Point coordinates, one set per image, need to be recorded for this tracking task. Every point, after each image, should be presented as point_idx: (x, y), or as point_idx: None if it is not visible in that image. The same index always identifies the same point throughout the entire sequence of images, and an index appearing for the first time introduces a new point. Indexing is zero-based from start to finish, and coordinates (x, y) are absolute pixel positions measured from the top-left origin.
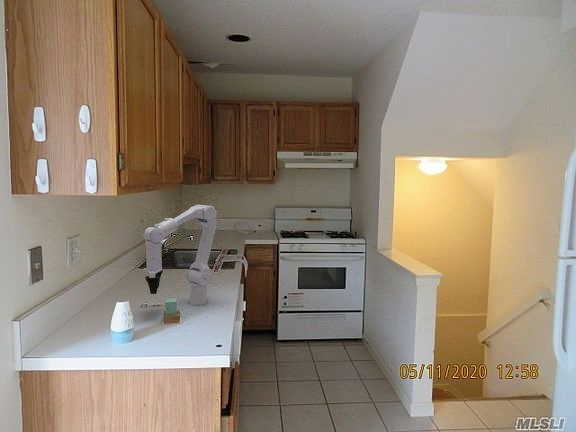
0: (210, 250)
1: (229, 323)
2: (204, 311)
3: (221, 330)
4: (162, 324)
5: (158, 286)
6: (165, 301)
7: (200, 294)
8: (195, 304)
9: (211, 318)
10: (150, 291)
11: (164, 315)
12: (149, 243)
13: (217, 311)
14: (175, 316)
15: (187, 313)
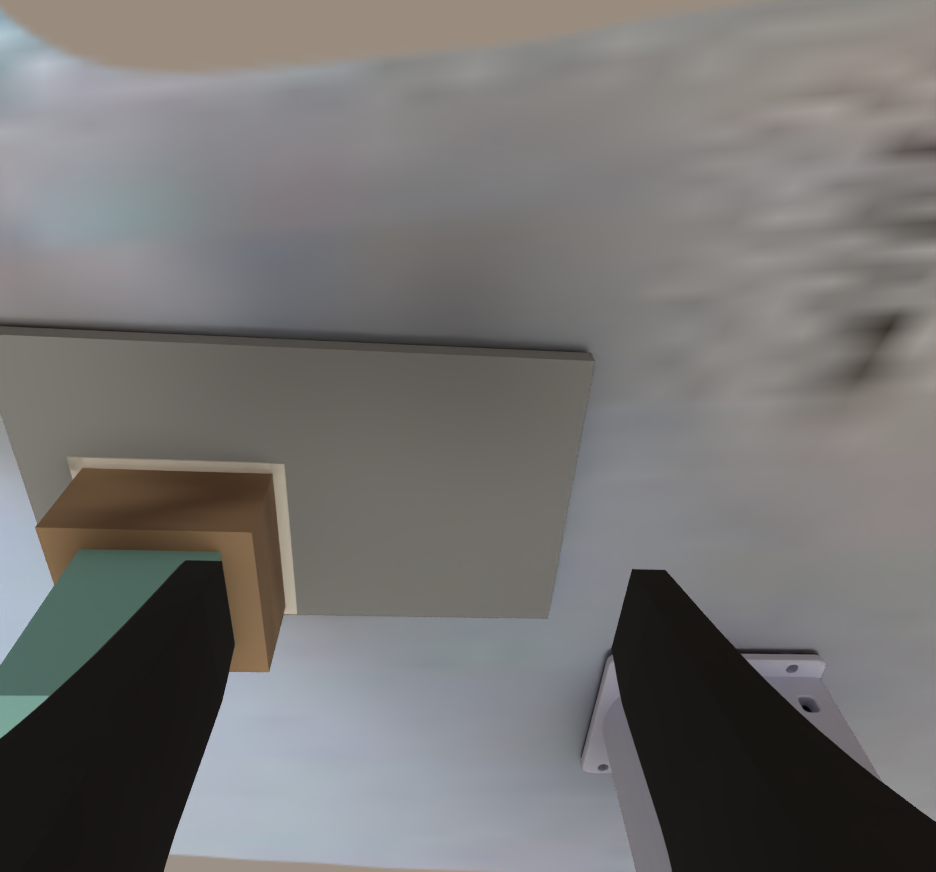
0: None
1: None
2: (469, 741)
3: None
4: (66, 461)
5: (619, 686)
6: (32, 696)
7: (630, 847)
8: (617, 714)
9: (283, 775)
10: (146, 604)
11: (66, 540)
12: None
13: (442, 806)
14: None
15: (452, 637)
